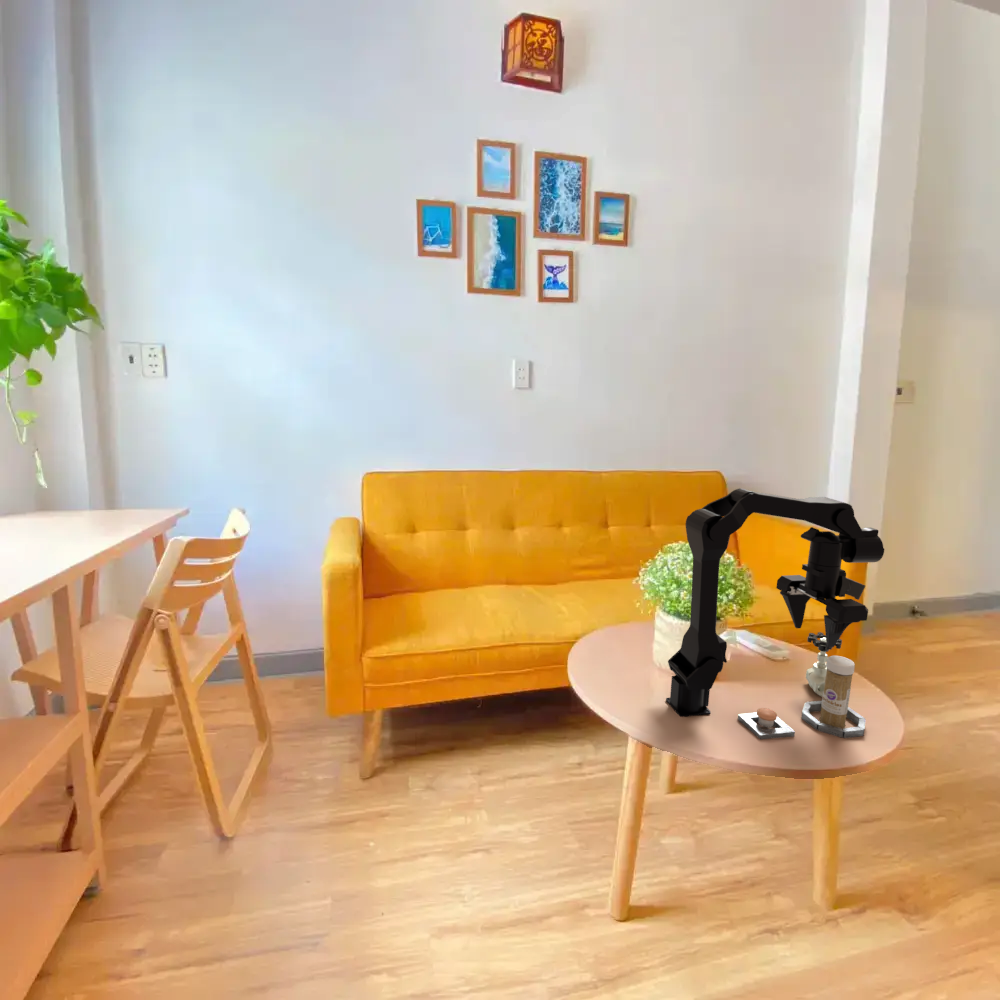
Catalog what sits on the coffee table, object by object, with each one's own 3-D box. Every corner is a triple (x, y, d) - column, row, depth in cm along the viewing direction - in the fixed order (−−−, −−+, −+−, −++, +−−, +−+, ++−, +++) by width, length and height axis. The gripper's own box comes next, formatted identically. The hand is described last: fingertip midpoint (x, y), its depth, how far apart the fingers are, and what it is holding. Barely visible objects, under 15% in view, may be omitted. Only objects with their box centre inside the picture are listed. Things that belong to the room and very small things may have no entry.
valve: (806, 696, 125) (812, 643, 123) (797, 681, 132) (803, 630, 129) (840, 700, 124) (847, 646, 122) (829, 684, 130) (836, 633, 128)
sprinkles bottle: (816, 725, 115) (824, 660, 112) (822, 715, 118) (830, 652, 116) (842, 734, 112) (852, 668, 109) (848, 724, 115) (857, 659, 113)
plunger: (763, 729, 110) (764, 718, 110) (752, 719, 113) (753, 708, 113) (779, 727, 111) (781, 717, 110) (768, 717, 114) (769, 707, 113)
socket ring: (828, 743, 109) (829, 733, 109) (790, 712, 119) (791, 703, 119) (877, 737, 111) (878, 727, 111) (836, 707, 121) (837, 698, 121)
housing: (759, 745, 108) (760, 735, 108) (737, 723, 115) (738, 714, 115) (793, 741, 110) (795, 731, 109) (769, 720, 116) (770, 710, 116)
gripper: (899, 576, 109) (885, 655, 112) (825, 548, 127) (815, 617, 130) (846, 578, 107) (834, 659, 110) (779, 549, 125) (770, 619, 128)
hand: (813, 637), depth 120 cm, fingers open, 9 cm apart
